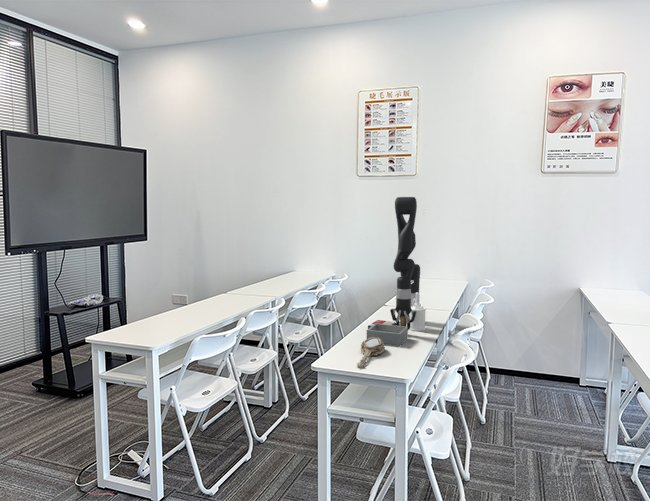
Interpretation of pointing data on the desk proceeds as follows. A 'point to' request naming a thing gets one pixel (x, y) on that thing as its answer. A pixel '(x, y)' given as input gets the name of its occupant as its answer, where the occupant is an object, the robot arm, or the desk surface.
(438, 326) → the desk surface
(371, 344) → the hand mirror
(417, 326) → the white cylindrical bottle
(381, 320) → the calculator
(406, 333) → the grey open box
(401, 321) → the peg
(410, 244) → the robot arm
